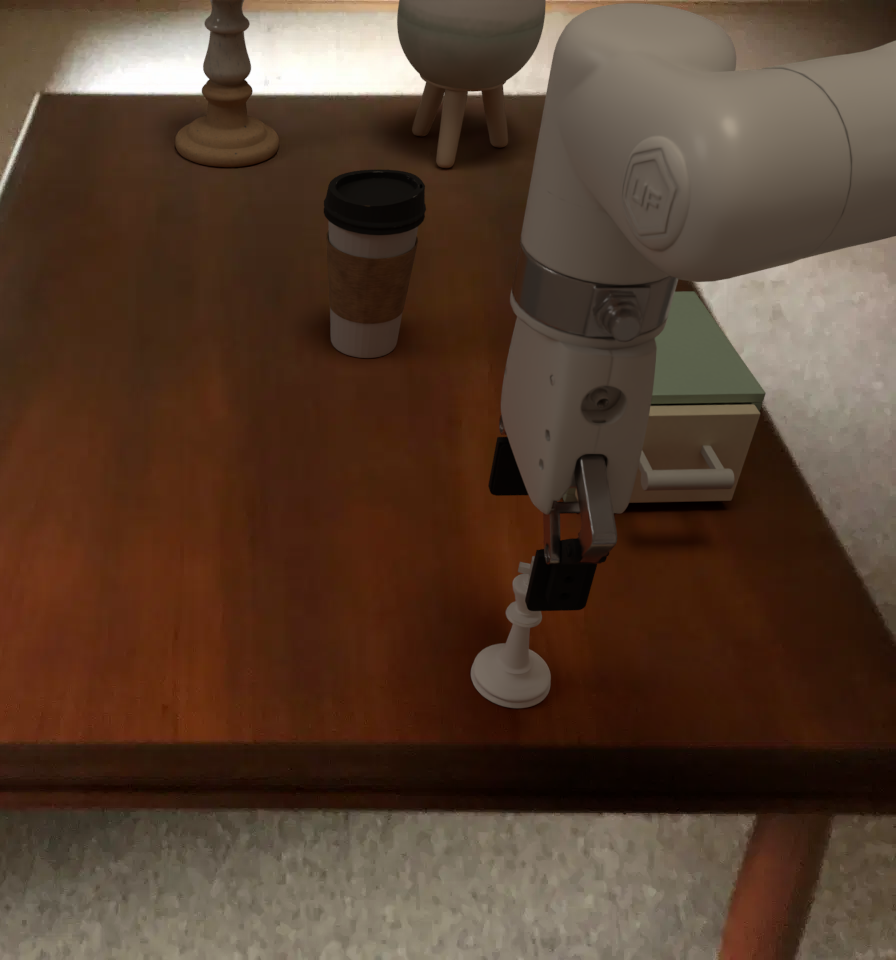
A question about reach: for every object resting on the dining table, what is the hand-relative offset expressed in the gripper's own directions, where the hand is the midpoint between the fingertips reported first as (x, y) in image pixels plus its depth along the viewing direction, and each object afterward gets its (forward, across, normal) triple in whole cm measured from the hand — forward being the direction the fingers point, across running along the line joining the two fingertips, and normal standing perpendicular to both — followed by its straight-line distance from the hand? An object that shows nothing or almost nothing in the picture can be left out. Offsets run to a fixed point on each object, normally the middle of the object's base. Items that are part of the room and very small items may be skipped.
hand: (533, 546), depth 67 cm
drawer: (+10, +20, -14) cm, 27 cm away
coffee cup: (+12, +40, +4) cm, 42 cm away
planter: (+12, +84, -12) cm, 85 cm away
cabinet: (+11, +24, -14) cm, 30 cm away
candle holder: (+12, +84, +15) cm, 87 cm away
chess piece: (+11, -1, 0) cm, 11 cm away
